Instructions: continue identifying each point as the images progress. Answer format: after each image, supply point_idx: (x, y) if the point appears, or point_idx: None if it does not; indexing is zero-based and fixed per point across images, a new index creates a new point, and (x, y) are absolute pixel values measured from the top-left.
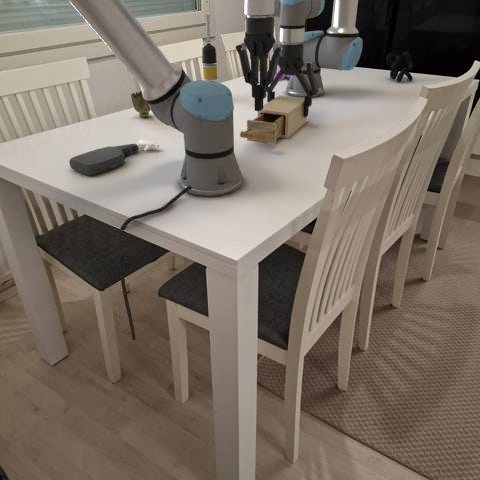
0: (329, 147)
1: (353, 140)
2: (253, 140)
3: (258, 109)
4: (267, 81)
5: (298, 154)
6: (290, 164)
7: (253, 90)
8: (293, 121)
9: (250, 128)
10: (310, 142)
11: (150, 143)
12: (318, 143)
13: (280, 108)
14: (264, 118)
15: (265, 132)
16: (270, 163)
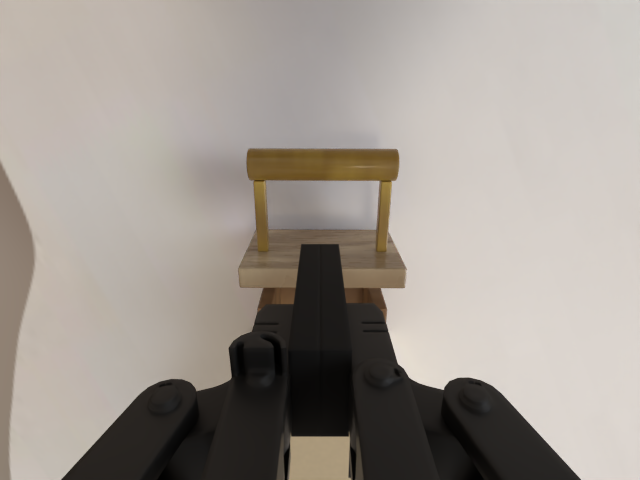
0: (73, 306)
1: (40, 393)
2: (356, 230)
3: (308, 248)
4: (164, 412)
5: (137, 194)
6: (106, 69)
7: (370, 341)
8: None
9: (379, 251)
10: (161, 327)
11: None
12: (130, 328)
13: (303, 454)
14: None
15: (297, 247)
16: (189, 41)
